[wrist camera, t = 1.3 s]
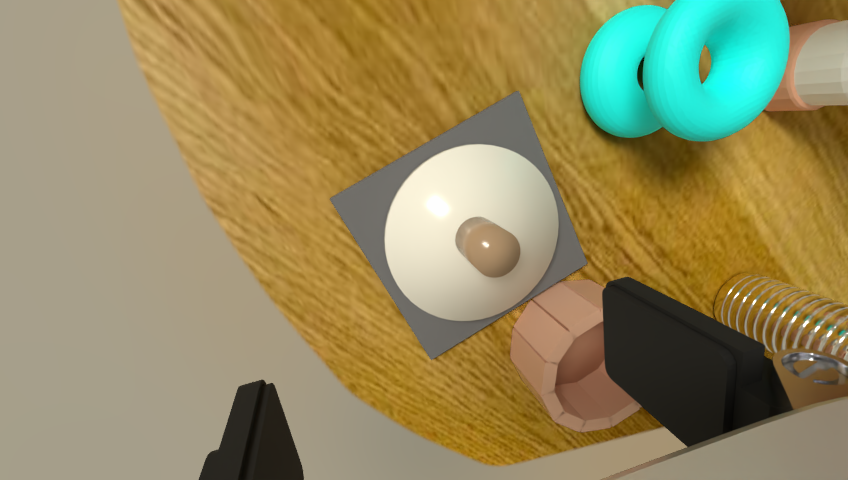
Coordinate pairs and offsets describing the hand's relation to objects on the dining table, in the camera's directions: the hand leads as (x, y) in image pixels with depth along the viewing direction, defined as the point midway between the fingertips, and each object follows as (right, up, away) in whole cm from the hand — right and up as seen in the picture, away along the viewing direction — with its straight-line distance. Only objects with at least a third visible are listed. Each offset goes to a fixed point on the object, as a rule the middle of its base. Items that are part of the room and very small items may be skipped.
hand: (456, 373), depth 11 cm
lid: (+3, +4, +24) cm, 24 cm away
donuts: (+16, +18, +24) cm, 34 cm away
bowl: (+13, -6, +30) cm, 33 cm away
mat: (+3, +4, +24) cm, 25 cm away
